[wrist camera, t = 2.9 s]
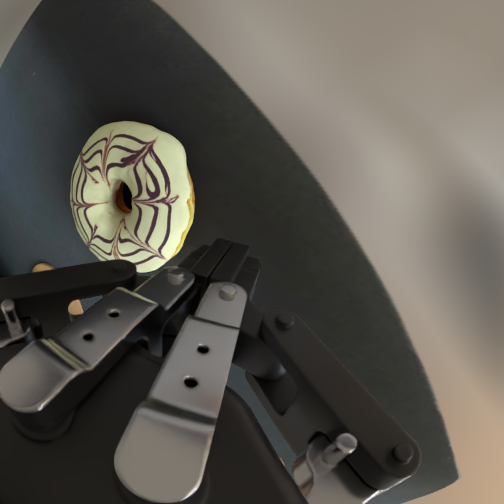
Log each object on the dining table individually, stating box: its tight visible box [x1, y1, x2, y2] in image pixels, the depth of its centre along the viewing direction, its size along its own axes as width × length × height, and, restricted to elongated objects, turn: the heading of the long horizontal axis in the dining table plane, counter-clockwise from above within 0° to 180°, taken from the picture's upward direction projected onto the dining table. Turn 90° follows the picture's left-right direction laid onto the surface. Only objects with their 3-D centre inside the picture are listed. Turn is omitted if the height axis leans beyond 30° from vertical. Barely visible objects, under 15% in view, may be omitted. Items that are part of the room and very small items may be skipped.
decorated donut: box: [70, 121, 195, 272], centre depth 17 cm, size 10×11×4 cm
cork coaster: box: [32, 263, 83, 315], centre depth 27 cm, size 10×10×1 cm
